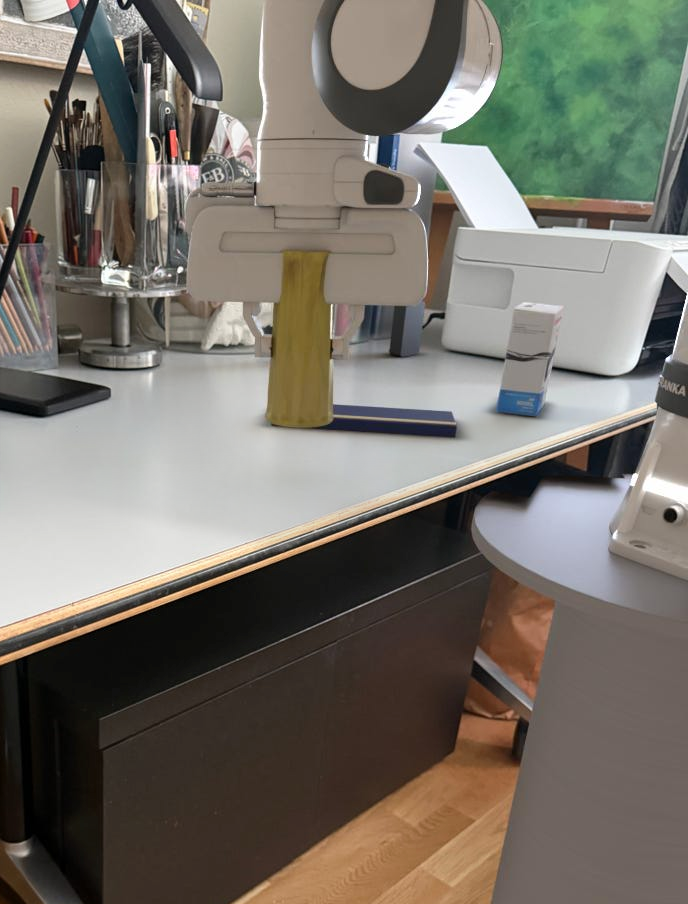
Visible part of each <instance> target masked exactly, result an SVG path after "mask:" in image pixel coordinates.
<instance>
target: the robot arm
mask: <svg viewBox="0 0 688 904" xmlns="http://www.w3.org/2000/svg"><path fill="white" fill-rule="evenodd" d="M260 25H261V27H260V36H259V37H260V39H259V56H258V57H259V61H258V81H259V86H260V90H261V96H262V115H261V121H260V124H259V127H258V132H257V137H256V138H257V139H256V140H257V142H256V176H255V177H256V179H255V181H234V182H218V181H206V182H203V183H202V184H201V186H200V187H197V188H195V189H193V190H192V191H191V192H190V193H189V195H188V196H187V197H186V200H185V203H184V229H185V231H186V234H187V235H188V237H189V239H190V241H189V248H188V255H187V265H186V278H185V279H186V283H185V284H186V285H185V286H186V290H187V292H188V293H189V294H188V295H190V296H191V298H192V299H193V300H194V301H196V302H218V303H221V302H222V303H223V302H225V303H226V302H227V303H242V317H243V319H244V321H245V324H246V326H247V327H248V329H249V331H250V333H251V335H252V337H254V352H253V353H254V354H253V355H254V358H271V352H272V350H271V347H272V333H271V334H270V333H265V332H264V330H263V328H262V326H261V324H260V322H259V320H258V316H259V315H260V314H261V313H262V304H265V303H266V304H274V303H279V300H280V296H281V285H282V271H283V253H280V252H281V250H284V251H331V254H329V256H328V259H327V263H326V270H325V279H324V298H325V301H326V303H328V304H335V305H346V306H347V305H348V306H347V318H348V319H349V320H350V319H351V321H350V323H349V325H348V326H347V328H346V330H345V331H344V333H343V334H342V335H333V340H332V348H333V350H332V356H331V359H333V361H334V360H335V361H336V360H337V361H348V360H349V356H350V344H351V343H350V341H351V340H352V339H353V337H354V335H355V334H356V332H357V331H358V329H359V328H360V326H361V325H362V323H363V321H364V319H365V309H366V306H389V307H390V306H392V307H394V306H416V305H418V304H419V303H420V302H421V301H422V300H423V301H424V299H425V297H426V296H427V291H428V277H429V276H428V275H429V272H428V271H429V258H428V257H429V255H428V253H429V252H428V240H427V239H428V237H427V231H426V227H425V224H424V222H423V220H422V218H421V217H420V215H419V214H418V213H417V212H416V211H414V210H413V209H412V208H414V207H415V206H416V205H417V204H418V203H419V200H420V196H421V183H420V181H419V180H418V179H417V178H416V177H414V176H412V175H410V174H406V173H404V172H401V171H398V170H395V169H392V168H391V166H390V165H388V164H386V163H381V162H380V163H375V162H372V161H370V160H369V157H368V150H369V149H368V147H369V137H386V136H392V135H397V134H405V135H437V134H441V133H445V132H448V131H450V130H453V129H455V128H458V127H459V126H461V125H463V124H465V123H467V122H468V121H469V120H471V119H472V118H473V117H474V116H476V115H477V114H478V113H479V112H480V111H481V110H482V109H483V107H485V104H486V103H487V102H488V101H489V99H490V97H491V95H492V94H493V92H494V90H495V88H496V86H497V83H498V81H499V78H500V74H501V71H502V65H503V57H504V45H503V43H504V42H503V38H502V33H501V29H500V26H499V23H498V21H497V19H496V18H495V16H494V14H493V12H492V11H491V10H490V9H489V7H488V6H487V4H485V3H484V1H482V0H263V6H262V13H261V24H260ZM199 194H201V195H202V196H197V195H199ZM686 294H687V295H686V299H685V303H684V306H683V311H682V315H681V319H680V322H679V327H678V331H677V335H676V339H675V343H674V347H673V350H672V351H673V352H672V354H670V355H669V356H668V357H666V358H665V361H664V365H663V368H662V371H661V375H659V378H658V382H657V385H658V386H657V390H656V393H655V398H654V402H655V403H656V413H655V416H654V420H653V423H652V427H651V430H650V433H649V435H648V437H647V438H648V439H647V441H646V443H645V447H644V450H643V451H642V454H641V457H640V460H639V462H638V465H637V467H636V470H635V472H634V473H633V478H632V482H631V484H630V486H629V488H628V490H627V492H626V495H625V497H624V499H623V501H622V502H621V504H620V506H619V508H618V510H617V511H616V513H615V515H614V516H613V518H612V519H611V521H610V523H609V528H610V531H611V533H612V535H613V536H612V538H611V541H610V543H609V546H608V549H609V551H611V552H612V553H614V554H617V555H619V556H622V557H625V558H627V559H630V560H633V561H635V562H638V563H641V564H643V565H646V566H649V567H652V568H654V569H657V570H660V571H662V572H665V573H668V574H670V575H673V576H676V577H679V578H681V579H684V580H687V581H688V293H686Z"/></svg>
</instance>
